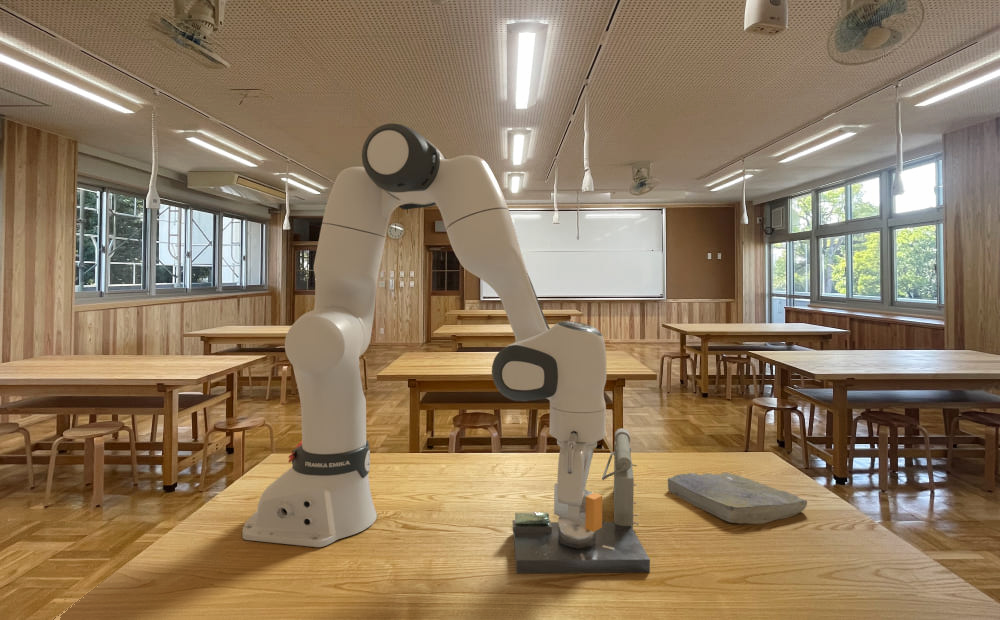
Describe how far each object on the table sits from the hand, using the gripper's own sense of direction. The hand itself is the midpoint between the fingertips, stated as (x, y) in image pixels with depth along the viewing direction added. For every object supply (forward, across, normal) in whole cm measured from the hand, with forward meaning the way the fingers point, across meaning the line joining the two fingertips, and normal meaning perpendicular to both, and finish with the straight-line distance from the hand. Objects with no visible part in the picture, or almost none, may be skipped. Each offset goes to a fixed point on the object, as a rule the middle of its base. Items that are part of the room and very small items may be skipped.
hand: (575, 508), depth 83 cm
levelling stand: (+7, 0, 0) cm, 7 cm away
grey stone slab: (+8, +27, -28) cm, 40 cm away
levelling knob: (+5, 0, 0) cm, 5 cm away
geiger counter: (+8, +19, -7) cm, 22 cm away
